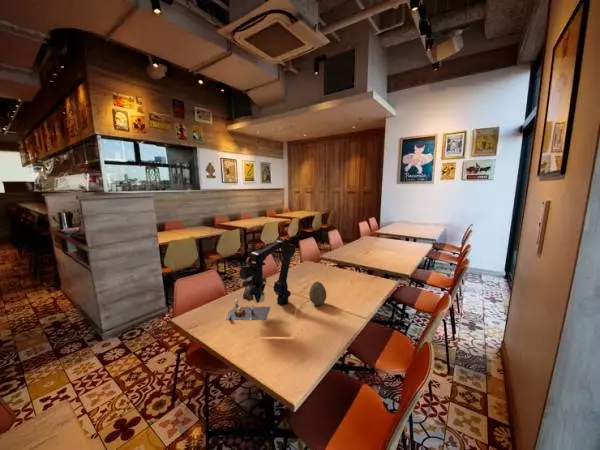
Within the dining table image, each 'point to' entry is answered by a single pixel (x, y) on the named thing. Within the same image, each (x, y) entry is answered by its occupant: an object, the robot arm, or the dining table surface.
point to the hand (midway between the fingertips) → (259, 299)
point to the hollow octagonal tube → (260, 298)
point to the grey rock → (247, 292)
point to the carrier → (248, 313)
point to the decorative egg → (317, 293)
